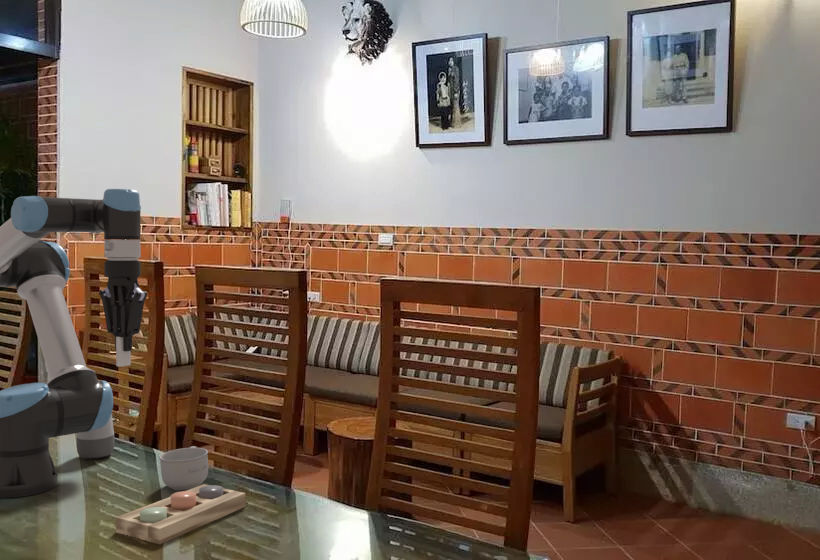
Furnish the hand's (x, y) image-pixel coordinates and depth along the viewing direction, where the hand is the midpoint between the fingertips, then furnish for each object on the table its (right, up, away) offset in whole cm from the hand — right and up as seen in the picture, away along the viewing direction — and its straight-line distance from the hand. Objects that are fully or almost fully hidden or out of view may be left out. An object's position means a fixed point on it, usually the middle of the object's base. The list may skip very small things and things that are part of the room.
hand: (123, 365), depth 171 cm
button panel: (+17, -30, -13) cm, 37 cm away
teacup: (+11, -29, +10) cm, 33 cm away
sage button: (+13, -29, -20) cm, 38 cm away
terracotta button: (+17, -28, -13) cm, 35 cm away
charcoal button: (+21, -29, -6) cm, 36 cm away
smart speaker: (-20, -28, +33) cm, 47 cm away
